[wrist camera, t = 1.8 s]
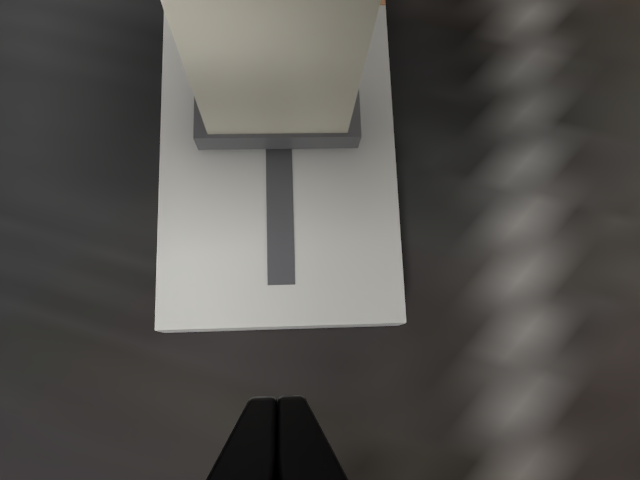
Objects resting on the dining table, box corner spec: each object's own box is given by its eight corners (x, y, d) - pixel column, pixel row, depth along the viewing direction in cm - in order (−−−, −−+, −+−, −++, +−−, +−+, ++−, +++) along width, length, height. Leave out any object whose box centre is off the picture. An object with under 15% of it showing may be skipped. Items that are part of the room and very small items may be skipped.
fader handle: (357, 148, 21) (428, -74, 11) (198, 149, 21) (102, -79, 10) (354, 80, 22) (417, -196, 11) (199, 81, 22) (109, -203, 11)
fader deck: (398, 325, 22) (406, 322, 20) (163, 332, 21) (154, 330, 20) (377, -14, 25) (382, -38, 24) (172, -15, 25) (165, -40, 23)
